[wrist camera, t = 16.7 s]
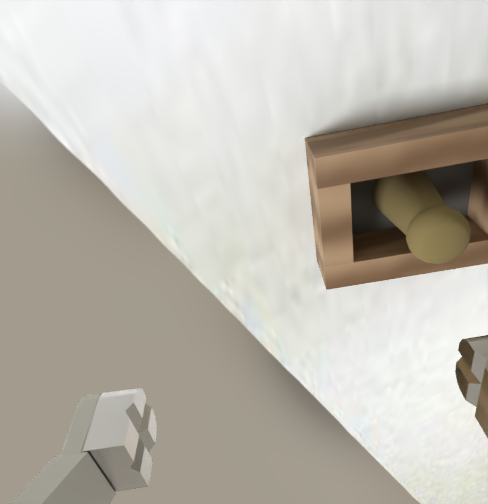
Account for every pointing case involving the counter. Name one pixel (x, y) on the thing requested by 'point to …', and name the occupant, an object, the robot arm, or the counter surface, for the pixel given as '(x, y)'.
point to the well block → (388, 164)
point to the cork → (422, 216)
